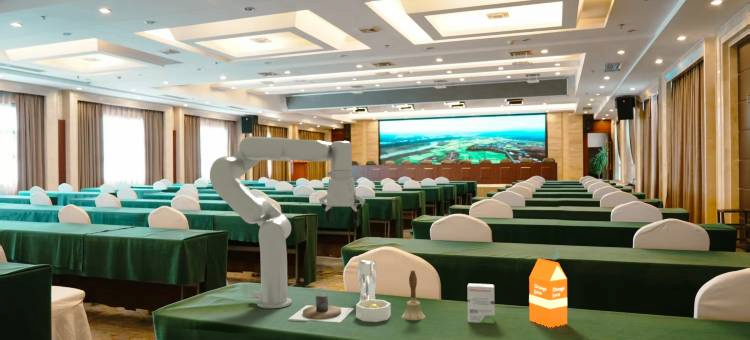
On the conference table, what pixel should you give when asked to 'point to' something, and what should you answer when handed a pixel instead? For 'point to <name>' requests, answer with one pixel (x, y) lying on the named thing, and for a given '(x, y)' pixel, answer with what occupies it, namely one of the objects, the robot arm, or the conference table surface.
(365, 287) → the beer glass
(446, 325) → the conference table surface
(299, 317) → the mat
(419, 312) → the hand bell
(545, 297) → the orange juice
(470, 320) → the ink box
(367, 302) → the bowl
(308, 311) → the lid
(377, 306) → the lemon
